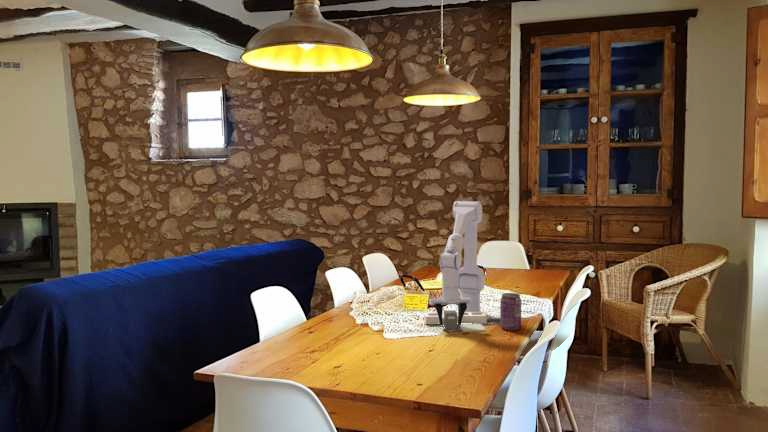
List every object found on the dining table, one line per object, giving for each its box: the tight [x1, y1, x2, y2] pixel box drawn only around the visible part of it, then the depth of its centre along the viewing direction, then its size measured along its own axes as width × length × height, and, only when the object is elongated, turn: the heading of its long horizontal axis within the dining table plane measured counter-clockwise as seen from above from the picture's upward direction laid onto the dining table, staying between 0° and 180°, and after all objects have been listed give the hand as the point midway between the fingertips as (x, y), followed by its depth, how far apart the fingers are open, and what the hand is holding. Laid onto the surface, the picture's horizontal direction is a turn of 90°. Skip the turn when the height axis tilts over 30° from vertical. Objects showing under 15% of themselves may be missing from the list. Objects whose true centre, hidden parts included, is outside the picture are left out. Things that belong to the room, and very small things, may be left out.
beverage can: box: [499, 292, 522, 331], centre depth 212 cm, size 7×7×12 cm
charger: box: [443, 309, 458, 331], centre depth 214 cm, size 8×4×6 cm, turn 3°
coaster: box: [458, 324, 486, 333], centre depth 213 cm, size 8×8×1 cm
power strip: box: [423, 311, 500, 325], centre depth 220 cm, size 8×28×4 cm, turn 93°
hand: (450, 324), depth 213 cm, fingers open, 6 cm apart
